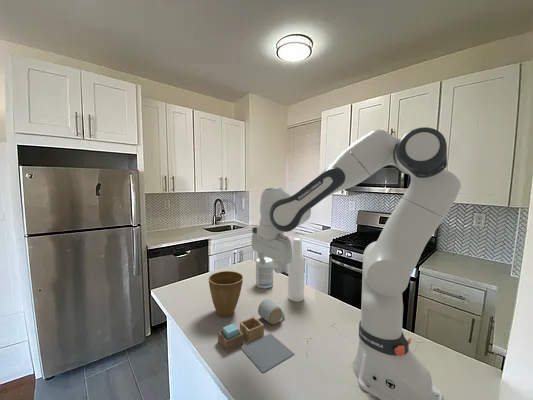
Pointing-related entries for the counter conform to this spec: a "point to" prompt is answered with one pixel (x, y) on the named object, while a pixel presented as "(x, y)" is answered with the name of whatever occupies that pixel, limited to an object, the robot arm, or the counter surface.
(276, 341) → the slate mat
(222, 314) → the plant pot
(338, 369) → the counter surface
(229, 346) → the brown wooden square tray
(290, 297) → the bottle
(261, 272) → the supplement tub
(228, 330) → the light blue block
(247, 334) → the light wooden open box
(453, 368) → the counter surface
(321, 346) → the counter surface
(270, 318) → the ceramic mug
